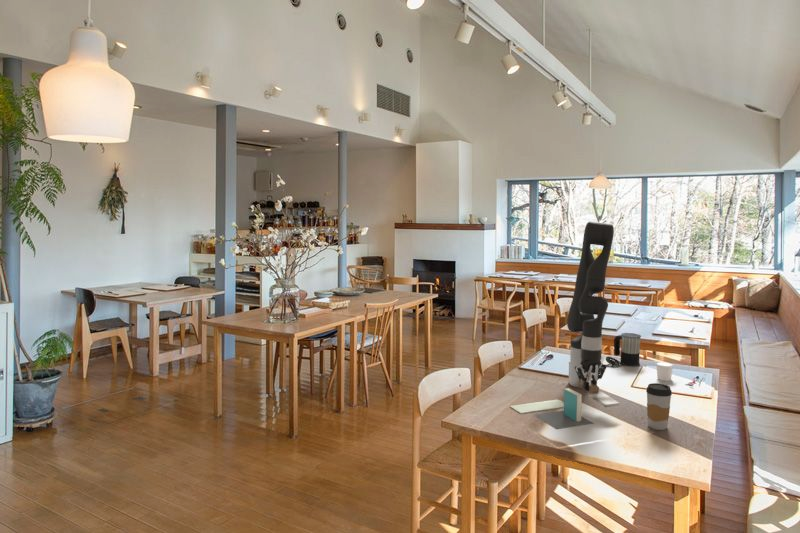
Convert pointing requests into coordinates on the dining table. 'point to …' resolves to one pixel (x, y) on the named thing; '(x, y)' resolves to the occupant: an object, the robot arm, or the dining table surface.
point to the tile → (572, 404)
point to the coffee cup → (658, 405)
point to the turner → (599, 395)
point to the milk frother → (626, 350)
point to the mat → (561, 420)
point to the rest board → (538, 406)
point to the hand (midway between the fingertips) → (589, 389)
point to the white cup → (664, 371)
